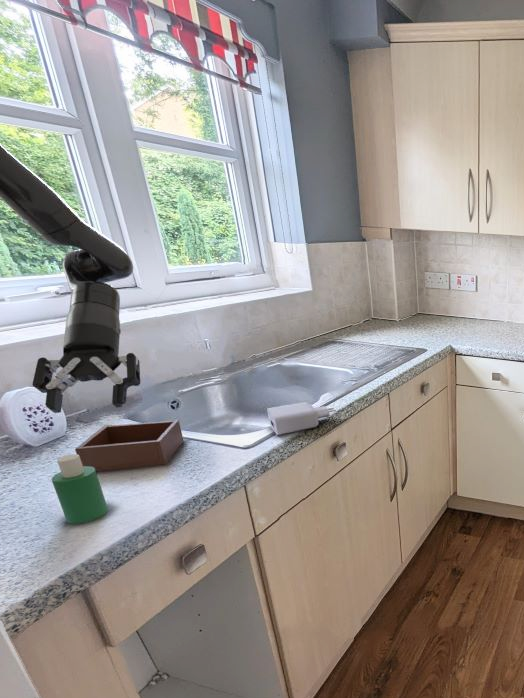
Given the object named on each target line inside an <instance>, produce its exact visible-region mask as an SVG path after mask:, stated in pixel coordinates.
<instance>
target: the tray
mask: <svg viewBox="0 0 524 698" xmlns="http://www.w3.org/2000/svg"><path fill="white" fill-rule="evenodd" d="M184 441H185V440H184V436H183V431H182V428H181V424H180V420H178V419H177V420H176V419H175V420H165V421H164V420H163V421H152V422H138V423H126V424H113V425H112V424H111V425H104V426H102V427H100V428H99V429H98V430H97V431H96V432H95V433H93V434H92V435H91V436H89V437H88V438H87V439H85V441H84V440H83V442H82V443H80V444H79V445H78V446H77V447H76V448H74V450H75V454H78V455H79V456H80V459H81V462H82V465H83V467H84V466H89V467H94V468H95V470H96V472H103V471H113V470H114V471H115V470H125V469H132V468H134V469H135V468H141V467H142V468H143V467H151V466H152V467H153V466H160V465H162V466H163V465H166V464H167V463H168V462H169V460H171V458H172V457H173V455H174V454H175V453H176V452H177V451H178V449H179V448H180V446H181V445H182V444H183V443H184Z"/></svg>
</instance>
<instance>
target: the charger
mask: <svg viewBox="0 0 524 698" xmlns="http://www.w3.org/2000/svg"><path fill="white" fill-rule="evenodd" d="M266 411H267V417H268V422H269V426H270V427H271V429H272V430H273V431H274V432H273V433H275V435H276V436H281V435H284V434H289V433H295V432H299V431H304V430H309V429H313V428H316V427H317V426H318V425H319V423H320V422H319V420H320V419H323V418H328V417H330V416H331V413H334V412H336V411H337V410H336V409H334V407H329V408H327V406H325V405H323V406H317V407H314V406H313V405H312V404H311V403H309V402H306V401H303V402H296V403H292V404H285V405H280V406H273V407H267V408H266Z"/></svg>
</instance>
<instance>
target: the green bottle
mask: <svg viewBox="0 0 524 698" xmlns="http://www.w3.org/2000/svg"><path fill="white" fill-rule="evenodd" d="M56 462H57V465H58V468H59V470H60V471H59V472H58V473H56V474H54V475H53V476H52V477H51V483H52V485H53V488H54V490H55V493H56V496H57V499H58V501H59V504H60V508H61V510H62V512H63V515H64V518H65V520H66V522H67V523H68V524H71V525H78V524H83V523H89V522H92V521H94V520H95V521H96V520H97V519H99V518H101V517H103V516H105V515H106V514H107V513H108V511H109V508H108V507H109V506H108V505H107V501H106V498H105V495H104V492H103V488H102V486H101V483H100V480H99V476H98V474H97V471H96V470H95V468H94V467H89V466H84V467H83V465H82V462H81V459H80V456H79V455H78V454H76V453H73V454H72V453H71V454H66V455H62V456H60V457H59V458H57V459H56Z"/></svg>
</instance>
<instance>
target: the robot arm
mask: <svg viewBox="0 0 524 698" xmlns="http://www.w3.org/2000/svg"><path fill="white" fill-rule="evenodd" d="M0 199H1V200H2V201H3V202H4V203H5V204H6V205H7V206H8V208H10V209H11V210H12V211H13V212H15V214H17V215H18V217H20V218H21V220H23V221H24V222H25V223H26V224H27V225H28V226H29V227H30V228H32V230H34V231H35V233H37V235H39V236H40V237H41V238H42V239H43V240H45V241H46V242H47V243H49V244H51V245H53V246H58V247H72V248H73V247H74V248H78V249H75V250H71V251H69V252H68V253H66V255H65V256H64V258H63V260H62V269H63V273H64V275H65V278H66V281H67V284H68V287H69V289H70V303H69V309H68V313H67V316H66V318H65V319H66V320H65V329H64V339H63V346H62V350H63V351H62V356H61V357H60V359H47V358H46V357H39V358H38V359H37V362H36V366H35V371H34V375H33V380H32V385H31V386H32V387H34V388H35V389H37V390H38V391H39V392H40V393H41V394H46V396H45V404H44V405H45V407H46V408H47V409H48V410H50V411H51V412H52V413H54V414H58V413H59V414H60V413H62V407H63V396H64V395H63V393H64V392H65V391H66V390H67V389H68V388H70V387H71V388H72V387H73V386H75V385H76V384H77V383H78V382H81V383H83V382H84V383H85V382H90V381H103V380H104V379H106V378H108V379H109V380H110V381H111V382H112V383H114V385H112V397H111V402H112V403H111V404H112V405H113V406H114V407H115V408H123V405H125V404H126V403H127V395H128V394H127V393H128V389H129V388H130V387H133V386H134V387H138V386H140V385H141V366H140V365H141V364H140V360H139V359H138V357H137V356H136V355H135V354H134V353H133V352H128V353H127V354H126V355H124V356H119V353H120V337H121V333H122V331H121V330H122V329H121V320H120V306H121V297H120V293H119V292H118V291H119V290H117V289H116V288H115V287H114V286H112V285H111V284H108V283H111V282H115V281H119V280H123V279H127V278H128V277H130V276H131V275H132V274H133V272H134V265H133V261H132V259H131V257H130V256H129V254H128V253H127V252H126V251H125V250H124V249H123V247H121V246H120V245H119V244H117V243H115V242H114V241H113V240H111V239H110V238H108V237H107V236H106V235H104V234H103V233H101V232H100V231H98V230H96V228H94V227H92V226H91V225H89V224H88V223H86V222H85V221H84V220H83V219H82V218H81V217H80V216H79V215H78V214H77V213H76V212H75V211H74V210H73V209H72V208H71V207H70V206H69V205H68V204H67V203H66V201H65V200H64V199H62V197H61V196H60V195H59V194H58V193H57V192H55V190H54V189H52V188H51V187H50V186H49V185H48V184H47V183H46V182H44V181H43V179H41V178H40V177H39V176H38V175H37V174H35V173H34V172H33V171H31V170H30V169H29V168H28V167H27V166H25V165H24V164H23V163H22V162H20V160H18V159H17V158H16V157H15V156H14V155H12V154H11V153H10V152H9V151H8V150H7V149H6V148H4V146H3V145H1V144H0ZM121 364H122V365H123V366H124V367H125V368H126V376H125V377H124V378H122V377H120V376H119V375H118V374H117V373H116V372H115V370H117V369H118V368H119V367H120V366H121ZM58 368H62V369H60V370H59V371H58V372H57V370H58ZM54 374H55V376H54V378H53V375H54ZM68 376H69V378H68Z"/></svg>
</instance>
